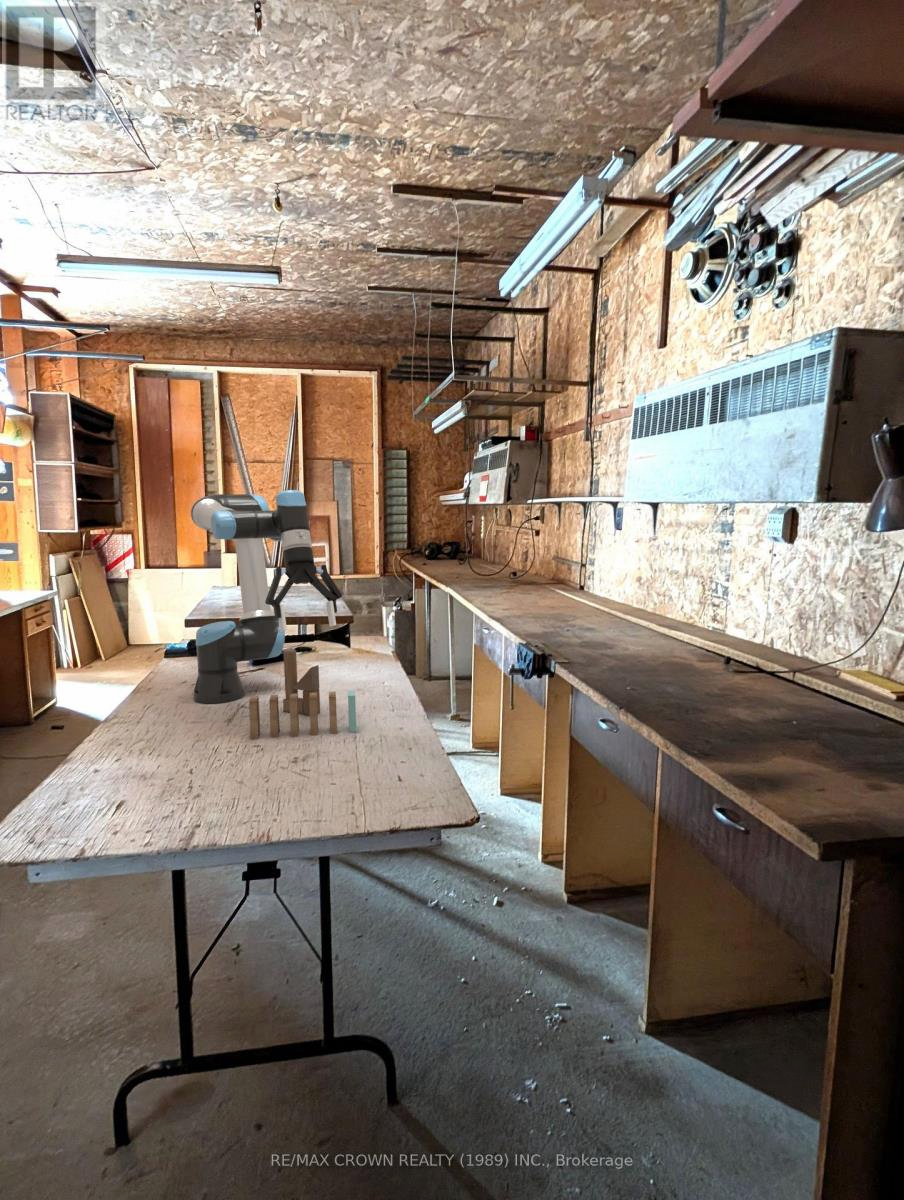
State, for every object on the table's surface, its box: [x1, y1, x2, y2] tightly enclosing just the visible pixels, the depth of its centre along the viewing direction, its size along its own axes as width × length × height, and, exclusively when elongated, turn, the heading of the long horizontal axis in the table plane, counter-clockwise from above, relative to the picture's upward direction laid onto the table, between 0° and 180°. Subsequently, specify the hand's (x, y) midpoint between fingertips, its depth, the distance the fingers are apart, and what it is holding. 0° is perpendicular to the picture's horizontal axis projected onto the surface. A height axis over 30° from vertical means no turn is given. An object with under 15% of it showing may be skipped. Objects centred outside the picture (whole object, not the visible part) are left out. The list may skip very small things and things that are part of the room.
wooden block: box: [282, 649, 321, 716], centre depth 189 cm, size 4×11×18 cm, turn 66°
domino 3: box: [289, 693, 300, 738], centre depth 171 cm, size 5×2×10 cm, turn 10°
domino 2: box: [268, 694, 281, 739], centre depth 170 cm, size 5×2×10 cm, turn 10°
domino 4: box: [309, 693, 319, 736], centre depth 172 cm, size 5×2×10 cm, turn 10°
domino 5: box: [328, 691, 338, 735], centre depth 173 cm, size 5×2×10 cm, turn 10°
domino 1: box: [248, 695, 261, 740], centre depth 169 cm, size 5×2×10 cm, turn 10°
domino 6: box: [347, 689, 357, 733], centre depth 174 cm, size 5×2×10 cm, turn 10°
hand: (308, 628), depth 169 cm, fingers open, 13 cm apart
